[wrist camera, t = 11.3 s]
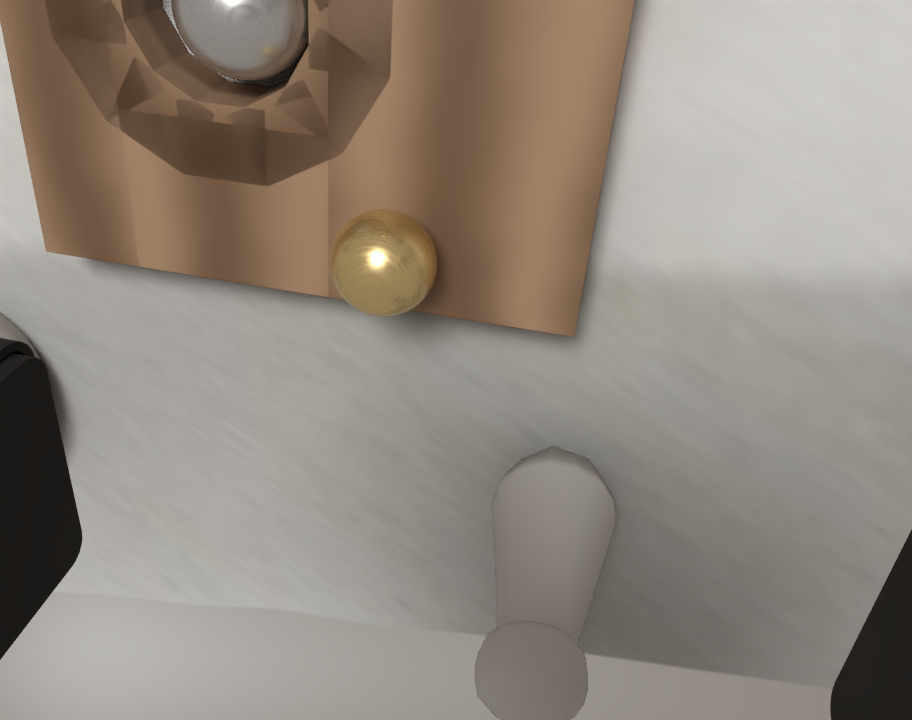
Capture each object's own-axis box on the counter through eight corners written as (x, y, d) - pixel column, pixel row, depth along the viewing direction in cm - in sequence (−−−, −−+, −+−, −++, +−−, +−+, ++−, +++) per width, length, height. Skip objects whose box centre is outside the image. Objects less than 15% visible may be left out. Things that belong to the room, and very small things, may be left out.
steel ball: (309, -77, 32) (320, -55, 28) (311, 61, 34) (321, 99, 30) (168, -85, 31) (158, -64, 27) (182, 58, 33) (174, 97, 29)
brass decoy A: (450, 201, 32) (428, 244, 29) (442, 293, 35) (421, 344, 31) (348, 186, 33) (315, 227, 30) (347, 278, 35) (316, 326, 32)
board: (695, -353, 25) (701, -371, 23) (578, 302, 37) (574, 336, 35) (-23, -403, 28) (-89, -425, 25) (83, 224, 40) (46, 251, 37)
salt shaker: (598, 423, 40) (582, 643, 29) (630, 514, 43) (626, 748, 32) (483, 445, 42) (428, 660, 31) (520, 531, 45) (481, 757, 34)
